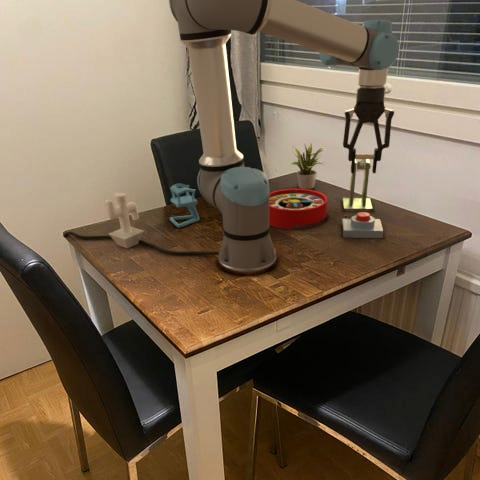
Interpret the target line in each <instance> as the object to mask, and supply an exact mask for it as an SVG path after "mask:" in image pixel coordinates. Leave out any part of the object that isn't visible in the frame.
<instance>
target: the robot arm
mask: <svg viewBox="0 0 480 480" xmlns="http://www.w3.org/2000/svg"><path fill="white" fill-rule="evenodd" d="M168 4H169V9H170V12H171V14H172V16H173V18H174V20H175V21H176V22H177V26H178V33H179V39H180V42H181V43H182V44H183V45H184V46H185V47H186V48H187V50H188V55H189V62H190V68H191V76H192V83H193V89H194V96H195V102H196V103H195V104H196V109H197V110H196V111H197V117H198V123H199V131H200V137H201V138H200V139H201V144H202V151H203V154H202V155H201V156H200V158H199V159H198V166H199V171H198V174H197V179H196V180H197V181H196V183H197V188H198V191H199V193H200V194H201V196H202V198H203V199H204V200H205V201H206V202H207V203H208V204H210V205H211V206H212V207H213V208H215V209H216V210H217V211H218V212H219V213H220V214H222V227H223V238H222V241H221V245H220V248H219V251H210V250H209V251H208V250H207V251H201V250H200V251H197V250H196V251H195V250H194V251H193V250H192V251H189V250H188V251H176V250H168V249H165V248H162V247H160V246H158V245H156V244H153V243H151V242H149V241H146V240H143V239H141V240H139V244H141V245H144V246H147V247H150V248H152V249H155V250H156V251H159V252H161V253H164V254H167V255H174V256H188V255H189V256H200V255H201V256H217V259H218V267H219V268H220V269H221V270H222V271H224V272H226V273H228V274H232V275H238V276H253V275H259V274H263V273H266V272H269V271H271V270H272V269H273V268H274V267H276V264H277V251H276V248H275V245H274V243H273V240H272V238H271V235H270V225H269V195H270V193H271V189H270V188H271V187H270V183H269V178H268V176H267V175H266V173H265V172H263V171H262V170H260V169H258V168H251V167H250V166H245V159H244V154H243V153H242V152H240V151H239V150H238V149H237V140H236V139H237V138H236V131H235V130H236V129H235V121H234V112H233V102H232V93H231V92H232V91H231V84H230V83H231V82H230V75H229V65H228V54H227V46H226V44H227V42H228V41H229V39H231V36H232V31H236V32H241V33H245V34H248V35H250V36H253V35H256V34H257V33H258V32H259V33H262V34H266V35H268V36H272V37H274V38H277V39H280V40H283V41H286V42H289V43H292V44H295V45H298V46H301V47H304V48H306V49H310V50H313V51H316V52H318V55H319V59H320V62H321V63H322V64H323V65H325V66H332V67H336V66H348V67H355V68H358V78H357V85H358V87H357V89H356V101H355V105H354V106H353V108H351V109H345V110H344V117H345V122H344V123H345V124H344V132H343V138H342V139H343V141H342V147H343V148H344V149H348V154H347V160H348V162H350V163H351V164H350V173H354V167H355V156H356V154H357V149H356V148H355V146H356V143H357V140H358V138H359V135H360V133H361V130H362V127H363V125H364V124H368V123H370V124H373V128H374V135H375V140H376V145H377V147H374V151H373V154H375V158H374V159H372V160H373V161H372V167H371V168H372V170H371V171H372V174H376V173H377V167H378V166H377V165H378V162H381V160H382V155H383V153H382V152H383V150H384V149H388V148H389V147H390V143H391V131H392V120H393V117H394V115H395V111H394V110H393V109H392V108H391V109H389V108H386V106H385V98H386V87H385V85H387V81H388V71H389V68H391V67H392V66H393V65H394V63H396V60H397V58H398V56H399V53H400V44H399V43H400V42H399V41H398V38H397V37H396V36H395V35H394V34H393V22H392V21H391V20H389V19H372V20H371V19H369V20H364V21H363V23H362V25H360V24H358V23H355V22H353V21H351V20H347V19H345V18H342V17H340V16H338V15H335V14H332V13H330V12H327V11H325V10H322V9H319V8H317V7H314V6H311V5H309V4H307V3H304V2H301V1H300V0H168ZM354 114H355V116H356V117H357V119H358V120H357V123H356V125H355V128H354V131H353V134H352V137H351V139H350V142H349V138H350V137H349V134H350V129H351V119H352V118H353V116H354ZM383 114H384V117H385V125H384V126H385V127H384V138H383V139H384V140H383V141H382V137H381V136H382V135H381V130H380V124H379V119H380V118H381V117H382V115H383ZM68 236H73V237H75V238H78V239H82V240H101V239H102V240H103V239H108V240H109V239H110V240H113V239H112V237H111V236H110V235H83V234H82V235H81V234H79V233H76V232H74V231H67V232H65V233H64V234H63V236H62V237H63V238H66V237H68Z"/></svg>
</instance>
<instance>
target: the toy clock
mask: <svg viewBox="0 0 480 480" xmlns="http://www.w3.org/2000/svg"><path fill="white" fill-rule="evenodd" d="M327 215H328V197H327V196H326V195H325V194H323V193H322V192H320V191H316V190H312V189H302V188H287V189H285V188H284V189H278V190H275V191H270V195H269V226H271V227H274V228H278V229H284V230H294V227H295V226H297V227H298V226H299V227H300V226H307V225H313V224H316V223H319V222H321V221H323V220H325V218H326V217H327Z"/></svg>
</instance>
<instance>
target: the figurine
mask: <svg viewBox="0 0 480 480" xmlns="http://www.w3.org/2000/svg"><path fill="white" fill-rule="evenodd" d="M114 204H116V206H115V207H114ZM105 207H106V213H107V216H108V218H109V219H110V220H115V219H118V221H119V226H120V228H119V229H117V230H114V231H112V232H109V233H108V236H111V237H112V239H111V240H113V241H114V243H115V244H116V245H117V246H119V247H122V248H125V249H131V248H132V247H134V246H136V245H139V244H140V243H139V240H142V237H143V236H144V233H145V230H143V229H140V228H137V227H133V226H131V223H130V215H131V219H132V220H133V221H138V220H139V218H140V216H139V211H138V206H137V203H136V202H135V201H129V202H127V194H126V193H125V192H120V191H117V192H115V193H114V202H113V200H111V199H109V198H108V199H106V200H105Z"/></svg>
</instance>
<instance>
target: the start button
mask: <svg viewBox="0 0 480 480" xmlns="http://www.w3.org/2000/svg"><path fill="white" fill-rule="evenodd" d="M356 215H357V219H356V220H358V221H369V218H370V216H371V214H370V212H366V211H360V212H357V213H356Z"/></svg>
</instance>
